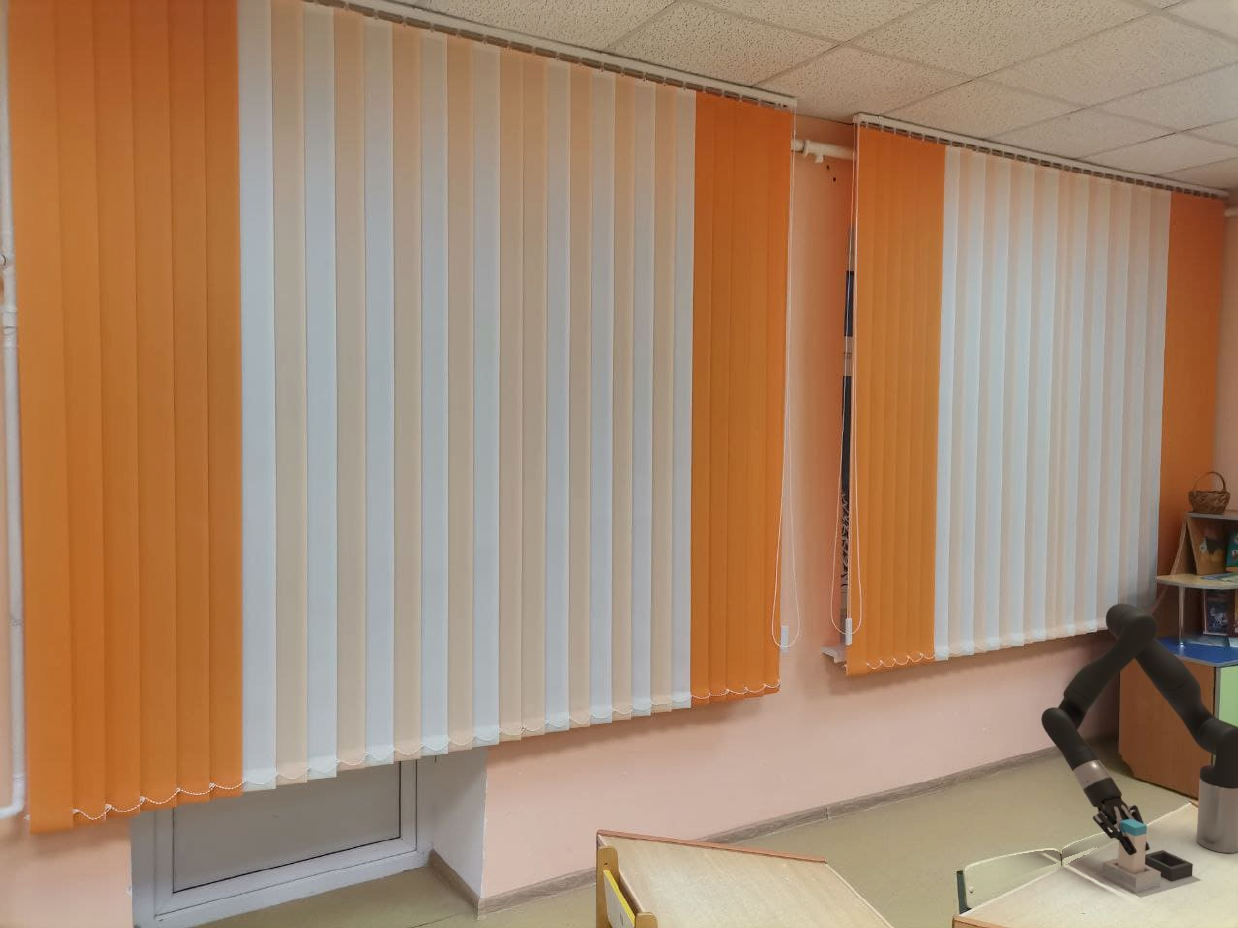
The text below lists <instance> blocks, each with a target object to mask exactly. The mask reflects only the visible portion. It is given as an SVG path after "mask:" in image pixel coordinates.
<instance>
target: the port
mask: <svg viewBox="0 0 1238 928" xmlns="http://www.w3.org/2000/svg"><path fill="white" fill-rule="evenodd" d="M1102 871H1103V875H1102V876H1103V877H1105V878H1107V879H1109V880H1111V881H1113V882H1115V883H1117V884H1118V885H1120V886H1122V887H1124V888H1126V889H1128V890H1130V891H1132V892H1134V893H1139V892H1142V891H1146V890H1149V889H1153V888H1157V887H1160V877H1161V872H1160V871H1157V870H1155V869H1153V868H1151V867H1149V866H1147V865H1145V871H1144V872H1142V873H1139V874H1135V875H1134V874H1132V873H1130V872H1128V871H1126V870H1124V869H1122V868H1120V867H1118V857H1117V858H1115V859H1114V858H1113V859H1110V860H1105V861H1103V862H1102Z"/></svg>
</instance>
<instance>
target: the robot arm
mask: <svg viewBox="0 0 1238 928" xmlns="http://www.w3.org/2000/svg"><path fill="white" fill-rule="evenodd" d="M1105 624H1106V627H1107V630H1108V631H1109V632H1110V634H1112V635H1113V636H1114V637H1115V638H1116V641H1115V642H1114V644H1113V645H1112V646H1111V648H1109V649H1108V650H1107V651H1106V652H1105V653H1104V654H1102V655H1101V656H1099V657H1098V658H1096V659H1095V660H1093V661H1091V662H1089V663H1087V664H1086V665H1084V666H1083V667H1082V668H1081V669H1080V670H1079V671H1077V673H1076V674H1075V676H1074V677H1073V678H1072V679H1071V681H1070V682H1069V684H1068V685H1067V686H1066V687H1065V690H1064V691H1063V699H1062V700H1061V702H1060V704H1059V705H1058V707H1049V708H1047V709H1044V711H1043V712H1042V714H1041V725H1042V727H1043V729H1044V731H1045V733H1046V734H1047V736H1048V737H1049V738H1050V740H1051V741H1052V742H1053V744H1054V745H1055V747H1057V749H1058V750H1059V751H1060V752H1061V754H1062V755H1063V757H1064V759H1065V761H1066V764H1068V766H1069V768H1070V770H1071V771H1072V773H1073V774H1074V776H1075V779H1076V780H1077V783H1078V784H1079V786H1080V788H1081V790H1082V791H1083V793H1084V794H1085V796H1086V798H1087V799H1088V800H1089V803H1090V804H1091V805H1092V807H1094V808H1097V810H1098V811H1097V812H1098V813H1097V814H1095V815H1093V816H1092V819H1093V820H1094V822H1095V824H1096V825H1098V826H1099V828H1100V829H1101V830H1102V831H1103V832H1104V833H1105V834H1106V835H1107V837H1109V839H1110V840H1111V839H1115V840H1117V841H1118V842H1119V841H1120V843H1121V845H1122V846H1123V848H1124V849H1125V851H1126V852H1127V853H1128V855H1133V854H1135V853H1137V850H1136V849H1135V847H1134V846H1133V844H1132V842H1131V841H1130V839H1129V838H1128V837H1126V832H1125V831H1124V829H1123V827H1122V826H1123V824H1122V823H1121V821H1122V820H1127V819H1134V820H1136V821H1138V822H1140V823H1143V824H1145V822H1144V820H1143V818H1142V815H1141V813H1140V810H1139V807H1138V806H1137V805H1136V804H1135V805H1134V804H1133V805H1132V806H1130V805H1128V804H1127V803H1126V802H1125V801H1124V800H1123V799H1122V796H1123V793H1122V792H1121V790H1120V789H1119V786H1118V785H1117V784H1116V782H1115V781H1114V779H1113V778H1112V776H1111V774H1110V772H1109V770H1108V769H1107V768H1106V767H1105V765H1104V764H1103V763H1102V762H1101V759H1099V757H1098V756H1097V754H1096V753H1095V751H1094V750H1093V748H1092V747H1091V745H1090V744H1089V743H1088V742H1087V741H1086V740H1085V739H1084V738H1083V736H1081V734H1080V732H1079V728H1080V727H1081V725H1082V723H1083V722H1084V719H1085V718H1086V715H1087V714H1088V711H1089V709H1090V708H1091V707H1092V706H1093V705H1094V703H1095V702H1096V701H1097V699H1098V698H1099V696H1100V695H1101V694H1102V693H1103V691H1104V690H1105V689H1106V688H1107V686H1108V685H1109V684H1110V683H1111V681H1113V679H1114V678H1115V677H1116V676H1117V675H1119V673H1120V672H1122V670H1123V669H1125V668H1126V666H1128V665H1129V664H1130V663H1131V662H1132V661H1133V660H1134V659H1135V660H1136V662H1137V664H1138V665H1139V667H1140V668H1141V669H1142V671H1143V672H1144V673H1145V675H1146V676H1147V677H1148V679H1149V680H1150V681H1151V683H1152V684H1153V686H1154V687H1155V688H1156V690H1157V691H1158V692H1159V694H1161V696H1162V697H1163V698H1164V700H1165V701H1166V702H1167V703H1168V705H1169V706H1170V707H1171V708H1172V709H1173V711H1174V712H1175V713H1176V714H1177V715H1178V717H1179V718H1180V719H1181V720H1182V722H1183V724H1184V725H1185V727H1186V729H1187V731H1188V732H1189V734H1190V735H1191V737H1192V739H1193V740H1194V741H1195V743H1196V745H1197V746H1198V747H1200V748H1201V749H1202V750H1203V751H1205V752H1206V753H1209V754H1212V755H1214V756H1215V758H1214V764H1212V765H1204V766H1203V765H1202V767H1201V768H1200V771H1199V779H1198V780H1199V781H1198V782H1199V784H1198V785H1199V786H1198V787H1199V788H1198V806H1197V807H1198V808H1197V825H1196V843H1198V844H1199V845H1200V846H1202V847H1204V848H1205V849H1209V850H1211V851H1214V852H1217V853H1223V854H1236V853H1238V726H1237V725H1234V724H1231V723H1230V722H1227V721H1224V720H1222V719H1219V718H1218V717H1216V716H1215V715H1214V714H1213V713H1212V712H1210V710H1209V709H1208V708H1207V707H1206V705H1205V704H1204V702H1203V700H1202V689H1201V685H1200V683H1199V681H1198V680H1197V678H1196V676H1195V675H1194V674H1193V673H1192V671H1190V669H1189V668H1188V667H1187V665H1186V664H1185V663H1184V662H1183V661H1182V660H1181V659H1180V658H1179V657H1178V656H1176V655H1175V654H1174V653H1173V652H1172V651H1171V650H1169V649H1168V648H1167V647H1166V646H1164V645H1163V643H1161V642H1160V641H1159V640H1158V639H1157V638H1156V636H1157V634H1158V631H1159V625H1158V624H1159V623H1158V622H1157V620H1156V618H1155V617H1154V616H1153V615H1151V614H1150V613H1147V612H1146V611H1144V610H1142V609H1140V608H1138V607H1136V606H1134V605H1132V604H1127V603H1117V604H1114V605H1112V606H1111V607H1110V608H1109V609H1108V610H1107V612H1106V615H1105ZM1119 831H1120V832H1119ZM1150 849H1151V847H1150V845H1149V842H1148V841H1147V840H1146V848H1145V853H1146V852H1148V851H1150Z"/></svg>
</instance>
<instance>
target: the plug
mask: <svg viewBox="0 0 1238 928" xmlns="http://www.w3.org/2000/svg"><path fill="white" fill-rule="evenodd" d="M1121 823H1122V824H1123V826H1122V827H1123V829H1124V831H1125V832H1126V837H1128V838H1129V839H1130V841H1131V842H1132V844H1133V846H1134V847H1135V849H1136V850H1137V853H1135V854H1133V855H1128V853H1127V852H1126V851H1125V849H1124V848H1123V846H1122V845H1121V843H1120V841H1119V840H1118V849H1117V850H1118V855H1117V858H1118V867H1120V868H1122V869H1124V870H1126V871H1128V872H1130V873H1132V874H1134V875H1135V874H1139V873H1142V872H1144V871H1145V855H1146V852H1145V848H1146V841H1147V832H1148V831H1147V830H1148V826H1147V824H1145V823H1144V822H1143V823H1144V824H1143V823H1140V822H1138V821H1136V820H1134V819H1127V820H1122V821H1121ZM1118 831H1119V830H1118ZM1119 832H1120V831H1119Z"/></svg>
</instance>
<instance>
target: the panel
mask: <svg viewBox="0 0 1238 928" xmlns="http://www.w3.org/2000/svg"><path fill="white" fill-rule="evenodd" d="M1094 875H1096V876H1098V877H1099V878H1102V879H1104V880H1106V881H1107V882H1110V883H1112V884H1113V885H1115V886H1118V887H1119V888H1120V889H1123V890H1125V891H1126V892H1129V893H1130V894H1132V895H1134V896H1136V897H1138V898H1139V899H1140V898H1144V897H1148V896H1152V895H1155V894H1159V893H1161V892H1165V891H1169V890H1172V889H1176V888H1179V887H1182V886H1186V885H1190V884H1194V883H1197V882H1200V881H1202V879H1200V878H1198V877H1196V876H1195V875H1192V876H1190V877H1186V878H1183V879H1179V880H1176V881H1172V882H1171V881H1169V880H1167V879H1165V878H1163V877H1160V887H1157V888H1153V889H1149V890H1146V891H1142V892H1139V893H1134V892H1132V891H1130V890H1128V889H1126V888H1124V887H1122V886H1120V885H1118V884H1117V883H1115V882H1113V881H1111V880H1109V879H1107V878H1105V877H1103V876H1102V875H1103V870H1101V871H1097V872H1095V873H1094Z"/></svg>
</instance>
